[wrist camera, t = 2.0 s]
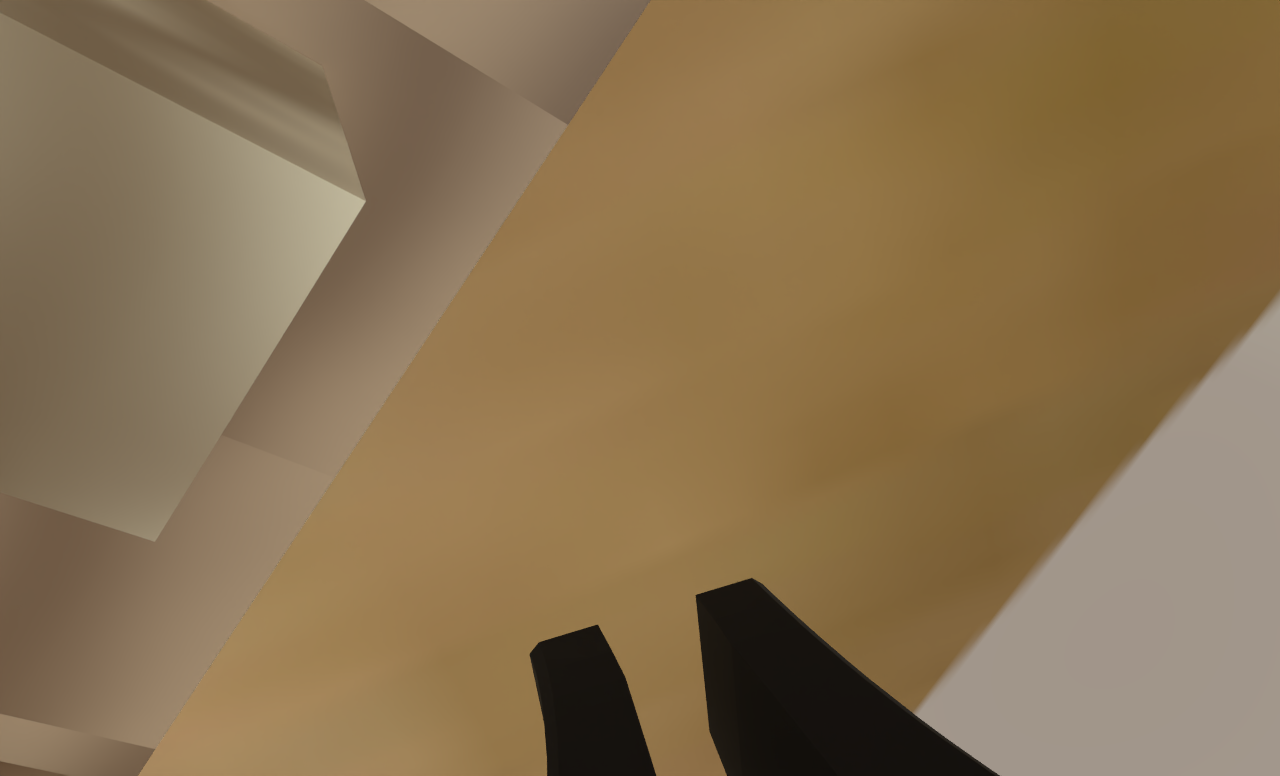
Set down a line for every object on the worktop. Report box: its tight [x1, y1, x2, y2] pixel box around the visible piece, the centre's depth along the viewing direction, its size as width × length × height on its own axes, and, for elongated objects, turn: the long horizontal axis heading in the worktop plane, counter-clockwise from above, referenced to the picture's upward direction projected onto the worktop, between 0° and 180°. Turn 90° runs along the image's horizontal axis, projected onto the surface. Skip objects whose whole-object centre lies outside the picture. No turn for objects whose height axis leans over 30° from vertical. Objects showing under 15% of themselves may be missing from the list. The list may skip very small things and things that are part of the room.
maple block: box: [0, 0, 366, 542], centre depth 13 cm, size 4×4×4 cm
